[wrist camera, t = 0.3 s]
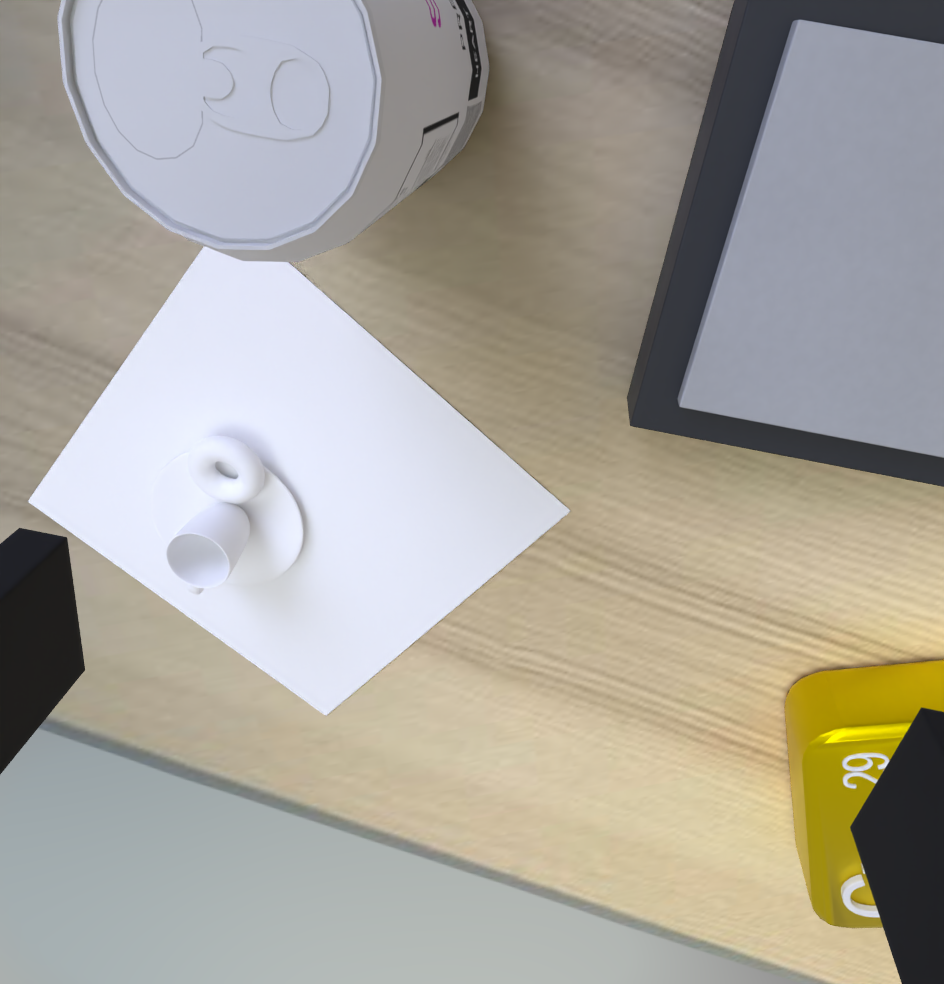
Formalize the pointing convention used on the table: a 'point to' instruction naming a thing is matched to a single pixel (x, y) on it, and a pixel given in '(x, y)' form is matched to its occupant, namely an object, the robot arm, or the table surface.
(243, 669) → the table surface
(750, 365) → the scale
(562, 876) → the table surface
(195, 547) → the teacup and saucer
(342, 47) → the white drink can
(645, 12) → the table surface
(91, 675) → the table surface
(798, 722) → the element tile
